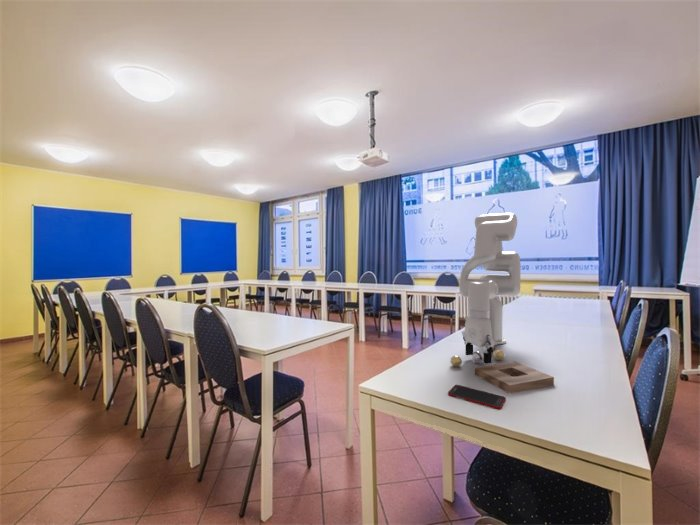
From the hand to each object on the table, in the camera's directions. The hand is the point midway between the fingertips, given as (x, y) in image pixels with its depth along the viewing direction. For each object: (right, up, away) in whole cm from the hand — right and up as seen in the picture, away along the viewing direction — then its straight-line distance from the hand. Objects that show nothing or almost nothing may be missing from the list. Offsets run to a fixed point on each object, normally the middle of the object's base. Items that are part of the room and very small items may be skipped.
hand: (478, 358), depth 117 cm
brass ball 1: (-9, 0, -3) cm, 10 cm away
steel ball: (0, +1, 0) cm, 0 cm away
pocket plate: (+5, -2, -15) cm, 16 cm away
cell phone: (-12, -3, -27) cm, 30 cm away
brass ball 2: (+9, 0, +3) cm, 10 cm away
